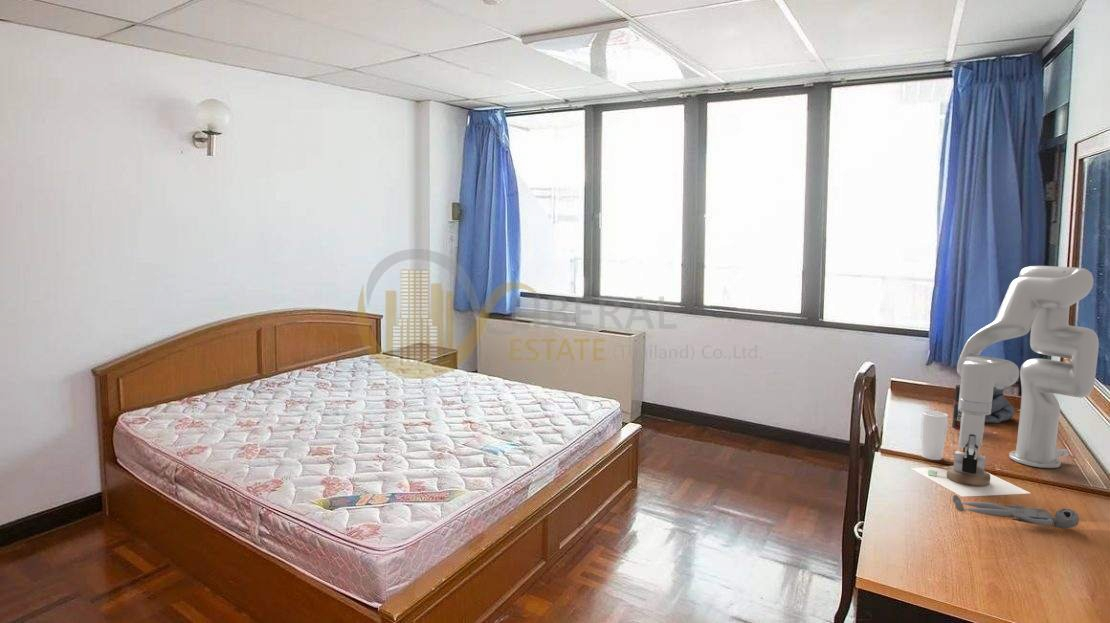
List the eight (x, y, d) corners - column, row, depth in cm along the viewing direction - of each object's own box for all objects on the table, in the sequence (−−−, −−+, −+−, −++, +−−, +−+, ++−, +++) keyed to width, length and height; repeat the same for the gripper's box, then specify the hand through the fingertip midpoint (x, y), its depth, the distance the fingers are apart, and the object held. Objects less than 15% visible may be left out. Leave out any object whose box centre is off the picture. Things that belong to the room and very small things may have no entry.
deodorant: (971, 427, 229) (975, 386, 227) (971, 431, 224) (975, 389, 222) (952, 424, 232) (956, 384, 230) (951, 428, 227) (955, 387, 225)
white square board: (972, 470, 187) (972, 464, 187) (1030, 498, 167) (1031, 492, 167) (909, 473, 185) (909, 467, 184) (961, 502, 165) (962, 495, 165)
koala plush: (949, 410, 251) (953, 361, 249) (999, 412, 249) (1004, 363, 246) (971, 423, 234) (976, 371, 232) (1025, 426, 232) (1030, 373, 229)
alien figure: (952, 489, 163) (1073, 504, 153) (951, 508, 164) (1072, 523, 154) (957, 501, 156) (1085, 517, 146) (956, 520, 157) (1083, 537, 146)
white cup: (947, 466, 190) (952, 417, 188) (922, 464, 192) (927, 415, 190) (939, 458, 197) (943, 411, 195) (915, 456, 198) (919, 409, 196)
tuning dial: (990, 477, 177) (992, 453, 176) (989, 489, 169) (991, 463, 168) (931, 466, 185) (933, 443, 184) (928, 477, 177) (930, 452, 176)
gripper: (959, 397, 182) (953, 455, 185) (957, 411, 168) (952, 474, 170) (990, 401, 178) (984, 460, 181) (992, 416, 164) (985, 480, 166)
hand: (968, 467), depth 175 cm, fingers open, 9 cm apart
